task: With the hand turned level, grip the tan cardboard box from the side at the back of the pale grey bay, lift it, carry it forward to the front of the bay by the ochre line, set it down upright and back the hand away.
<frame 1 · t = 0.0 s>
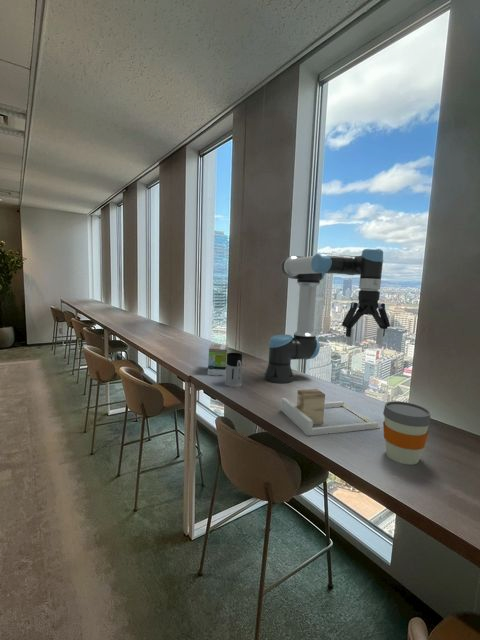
hand: (364, 345, 126), 28 cm above the table, tool pointing down, fingers open, 13 cm apart
glass holder: (234, 386, 158), on the table
tan cardboard box: (309, 420, 121), on the table
bay: (328, 418, 123), on the table
tea box: (217, 372, 181), on the table
reusable coffee cup: (401, 456, 98), on the table
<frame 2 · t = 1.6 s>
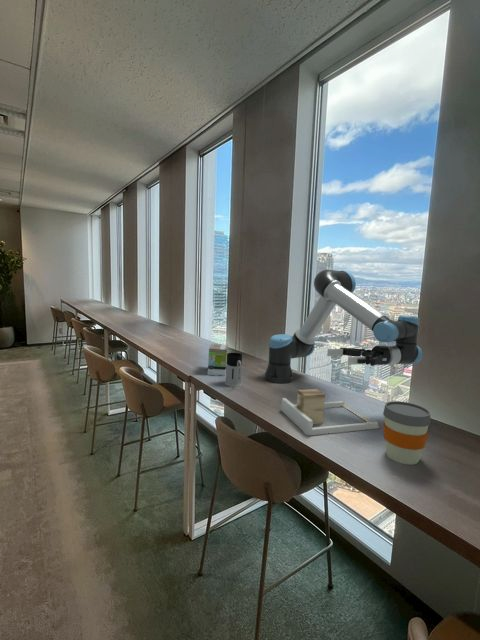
hand: (337, 356, 121), 24 cm above the table, tool horizontal, fingers open, 13 cm apart
nothing on the table moved.
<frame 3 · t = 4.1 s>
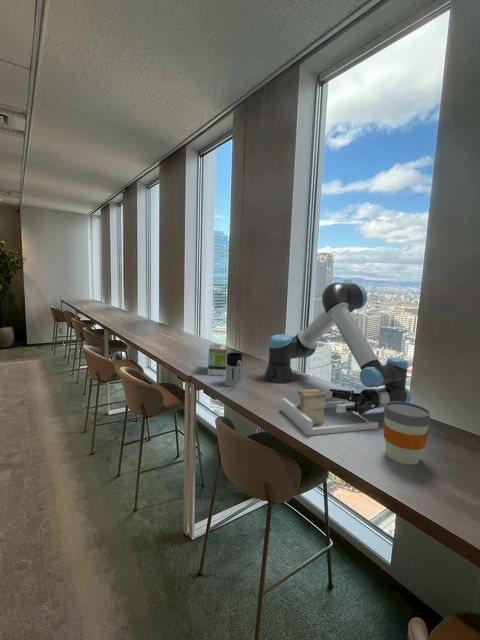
hand: (326, 402, 122), 7 cm above the table, tool horizontal, fingers open, 13 cm apart
nothing on the table moved.
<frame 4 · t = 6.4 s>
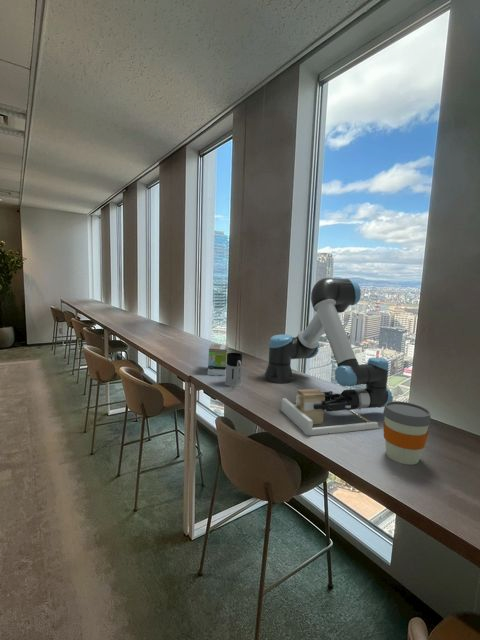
hand: (300, 403, 119), 7 cm above the table, tool horizontal, fingers closed on tan cardboard box, 6 cm apart
tan cardboard box: (309, 420, 121), on the table, touching gripper
everything else where it was.
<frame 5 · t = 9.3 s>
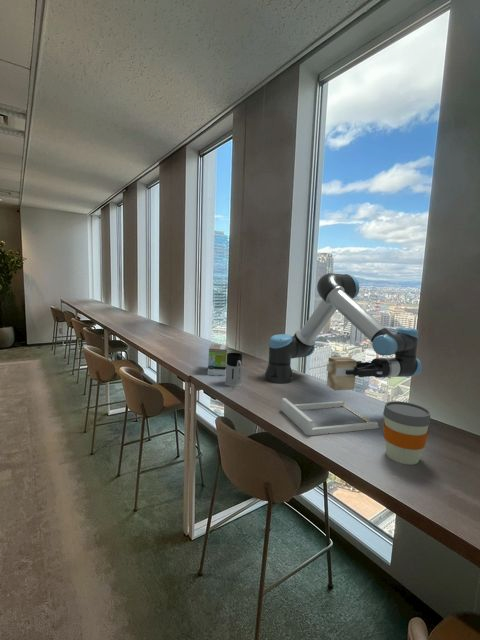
hand: (332, 369, 121), 19 cm above the table, tool horizontal, fingers closed on tan cardboard box, 6 cm apart
tan cardboard box: (340, 387, 123), point 12 cm above the table, touching gripper
everything else where it was.
when the fingers open (8 cm above the table, at t = 12.5 s): tan cardboard box drops 1 cm, on the table.
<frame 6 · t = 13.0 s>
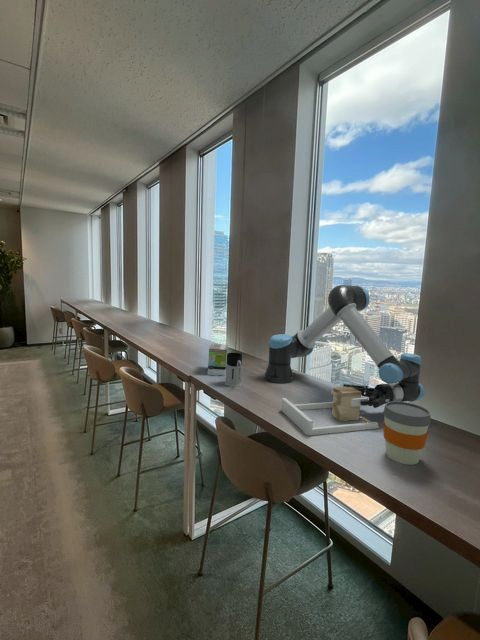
hand: (341, 396, 124), 8 cm above the table, tool horizontal, fingers open, 12 cm apart
tan cardboard box: (345, 417, 126), on the table
everything else where it was.
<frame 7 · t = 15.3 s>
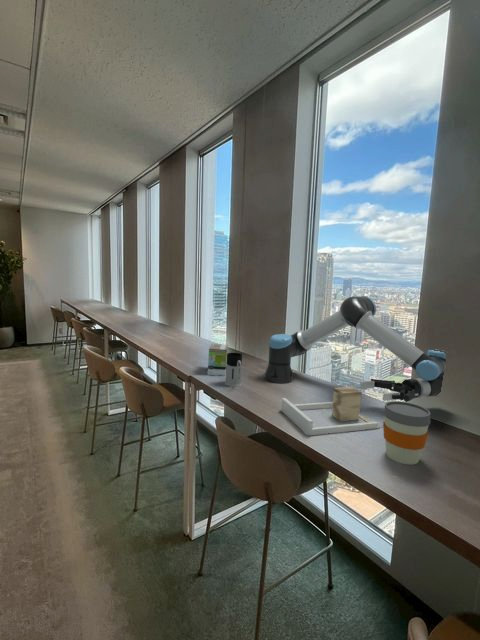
hand: (371, 390, 127), 10 cm above the table, tool horizontal, fingers open, 13 cm apart
nothing on the table moved.
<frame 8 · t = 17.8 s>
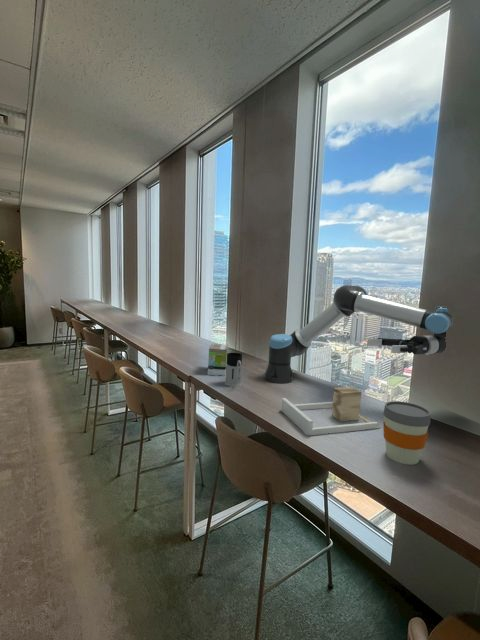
hand: (379, 345, 126), 28 cm above the table, tool horizontal, fingers open, 13 cm apart
nothing on the table moved.
at the end: tan cardboard box inside the target area (0.0 cm from its centre), on the table; tan cardboard box tilted 0°; the gripper is holding nothing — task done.
